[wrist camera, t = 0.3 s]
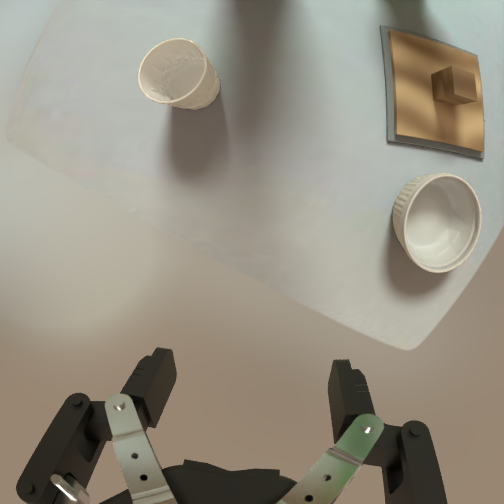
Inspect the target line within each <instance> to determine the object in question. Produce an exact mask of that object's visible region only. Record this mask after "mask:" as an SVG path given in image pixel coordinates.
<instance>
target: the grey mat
mask: <svg viewBox="0 0 504 504" xmlns="http://www.w3.org/2000/svg"><path fill="white" fill-rule="evenodd" d="M389 30H393V31H397V32H401V33H406V34H409V35H413V36H417V37H420V38H424V39H427V40H431V41H434V42H437V43H440V44H443V45H446V46H449V47H452V48H454V49H457V50H460V51H462V52H465V53H467V54H470V55H472V56H475V57H477V55H475V54H473V53H471V52H468V51H466V50H463V49H461V48H458V47H455V46H453V45H450V44H447V43H444V42H441V41H438V40H435V39H432V38H429V37H425V36H422V35H418V34H415V33H411V32H407V31H403V30H399V29H395V28H391V27H386V26H380V32H381V40H382V49H383V59H384V71H385V87H386V113H387V141H393V142H400V143H407V144H413V145H419V146H425V147H431V148H436V149H441V150H446V151H451V152H456V153H460V154H465V155H469V156H473V157H477V158H481V159H484V152H479V151H476V150H472V149H468V148H463V147H459V146H455V145H450V144H446V143H441V142H436V141H431V140H426V139H420V138H414V137H408V136H402V135H395V134H394V93H393V76H392V64H391V54H390V45H389V37H388V32H389ZM477 60H478V57H477ZM478 67H479V63H478ZM479 74H480V69H479ZM480 82H481V77H480ZM481 92H482V85H481ZM482 104H483V95H482ZM483 123H484V109H483Z"/></svg>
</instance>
